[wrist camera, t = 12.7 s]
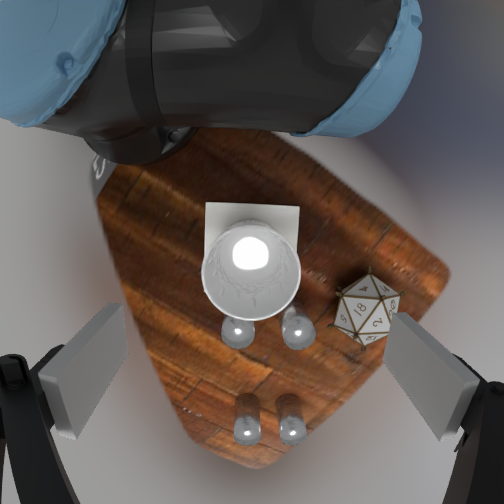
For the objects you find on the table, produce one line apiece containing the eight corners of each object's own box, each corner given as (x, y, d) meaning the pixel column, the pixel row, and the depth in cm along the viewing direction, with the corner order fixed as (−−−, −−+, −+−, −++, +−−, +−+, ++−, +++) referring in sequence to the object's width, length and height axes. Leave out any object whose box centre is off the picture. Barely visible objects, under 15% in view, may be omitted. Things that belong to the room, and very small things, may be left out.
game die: (342, 275, 41) (369, 239, 32) (394, 311, 39) (433, 284, 30) (305, 331, 38) (326, 308, 29) (361, 369, 36) (398, 357, 27)
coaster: (206, 201, 35) (205, 202, 34) (298, 206, 35) (299, 206, 35) (204, 289, 37) (204, 292, 36) (291, 293, 37) (292, 295, 37)
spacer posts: (225, 294, 37) (221, 318, 30) (313, 297, 38) (327, 321, 31) (223, 410, 41) (221, 444, 34) (297, 411, 41) (305, 444, 34)
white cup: (216, 286, 36) (207, 323, 26) (209, 216, 35) (196, 228, 25) (287, 281, 36) (302, 316, 26) (283, 210, 35) (299, 221, 25)
